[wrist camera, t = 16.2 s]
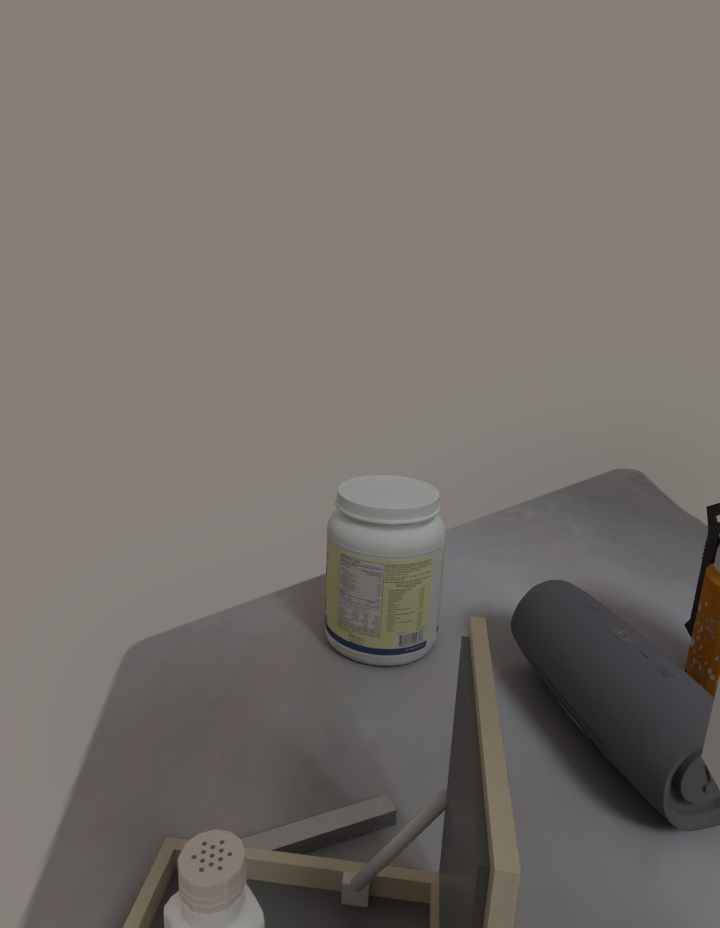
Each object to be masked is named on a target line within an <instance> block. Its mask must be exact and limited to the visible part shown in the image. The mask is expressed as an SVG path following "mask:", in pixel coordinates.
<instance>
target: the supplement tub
mask: <svg viewBox="0 0 720 928" xmlns="http://www.w3.org/2000/svg"><path fill="white" fill-rule="evenodd" d="M336 507H337V509H336V510H335V511H334V512H333V514H332V515H331V517H330V519H329V522H328V527H327V566H326V567H327V568H326V569H327V570H326V604H325V622H324V626H325V632H326V636H327V639H328V641H329V642H330V644H331V645H332V646H333V647H334V648H335V649H336V650H337V651H338V652H340V653H341V654H343V655H344V656H346V657H348V658H350V659H352V660H355V661H358V662H361V663H365V664H369V665H377V666H396V665H403V664H407V663H410V662H413V661H415V660H417V659H419V658H421V657H422V656H424V655H425V654H426V653H427V652H428V651H429V650H430V649H431V648H432V646H433V645H434V643H435V640H436V637H437V634H438V620H439V609H440V597H441V585H442V574H443V562H444V550H445V540H446V531H445V526H444V523H443V521H442V520H441V518H440V517H439V516H438V513H439V512H440V505H439V492H438V490H437V489H436V488H435V487H433V486H432V485H430V484H427V483H425V482H422V481H419V480H416V479H412V478H407V477H400V476H389V475H373V476H362V477H357V478H353V479H350V480H347V481H345V482H343V483H342V484H340V485H339V487H338V492H337V499H336Z"/></svg>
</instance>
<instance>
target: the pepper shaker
mask: <svg viewBox="0 0 720 928" xmlns="http://www.w3.org/2000/svg"><path fill="white" fill-rule="evenodd" d="M178 879H179V880H178V881H179V891H178V892H177V893H176V894H174V895H173V896H171V898H170V899H169V900H168V902H167V903H166V905H165V906H164V928H265V923H264V913H263V911H262V909H261V907H260V905H259V903H258V901H257V900H256V898H255V896H254V894H253V893H252V891H251V890H250V888H249V887H248V885H247V884H246V852H245V848H244V845H243V841H242V840H241V839H240V838H238V837H237V836H236V835H235V834H233V833H232V832H231V831H224V830H217V829H213V830H210V831H206V832H203V833H199V834H197V835H196V836H195V837H193V838H192V839H191V840H190V841H188V842H187V843H186V844H185V845H184V847H183V849H182V851H181V853H180V855H179V858H178Z"/></svg>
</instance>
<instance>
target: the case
mask: <svg viewBox="0 0 720 928" xmlns="http://www.w3.org/2000/svg"><path fill="white" fill-rule="evenodd" d="M444 810H445V817H444V827H443V838H442V848H441V858H440V869H439V872H432V871H424V870H417V869H409V868H401V867H394V866H387V865H388V864H389V863H390V862H391V861H392V860H393V859H394V858H395V857H396V856H397V855H398V854H399V853H400V852H401V851H402V850H403V849H404V848H405V847H407V846H408V845H409V844H410V843H411V842H412V841H413V840H414V839H415V838H416V837H417V836H418V835H419V834H420V833H421V832H422V831H423V830H424V829H425V828H426V827H427V826H428V825H429V824H430V823H431V822H433V821H434V820H435V819H436V818H437V817H438V816H439V815H440V814H441V813H442V812H443V811H444ZM188 841H190V840H187V839H179V838H172V837H166V839H165V841H164V843H163V845H162V847H161V849H160V852H159V854H158V856H157V858H156V860H155V862H154V864H153V866H152V868H151V870H150V872H149V874H148V876H147V879H146V881H145V883H144V885H143V887H142V889H141V891H140V893H139V895H138V897H137V899H136V901H135V903H134V906H133V908H132V910H131V912H130V914H129V916H128V918H127V920H126V922H125V924H124V926H123V928H164V906H165V905H166V903H167V902H168V900H169V899H170V898H171V896H173V895H174V894H176V893H177V892H178V891H179V881H178V880H179V879H178V858H179V855H180V853H181V851H182V849H183V847H184V845H185V844H186V843H187V842H188ZM244 848H245V852H246V884H247V885H248V887H249V888H250V890H251V891H252V893H253V894H254V896H255V898H256V900H257V901H258V903H259V905H260V907H261V909H262V911H263V913H264V923H265V928H514V923H515V916H516V909H517V901H518V894H519V887H520V880H521V867H520V859H519V852H518V845H517V838H516V831H515V824H514V817H513V810H512V803H511V796H510V789H509V782H508V774H507V767H506V760H505V753H504V746H503V739H502V732H501V725H500V718H499V711H498V704H497V697H496V689H495V682H494V675H493V668H492V661H491V654H490V647H489V640H488V633H487V626H486V619H485V617H478V616H470V622H469V632H468V637H465V636H462V640H461V650H460V661H459V671H458V682H457V692H456V702H455V713H454V723H453V734H452V744H451V754H450V765H449V775H448V786H447V790H445V789H443V790H442V791H441V792H440V793H439V794H438V795H437V796H436V797H435V798H434V799H433V800H432V801H431V802H430V803H429V804H428V805H427V806H426V807H425V808H424V809H422V810H421V811H420V812H419V813H418V814H417V815H416V816H415V817H414V818H413V819H412V820H411V821H410V822H409V823H408V824H407V825H406V826H405V827H404V828H403V829H402V830H401V831H400V832H399V833H398V834H397V835H396V836H395V837H394V838H393V839H392V840H391V841H390V842H389V843H388V844H387V845H386V846H385V847H384V848H383V849H382V850H381V851H379V852H378V853H377V854H376V855H375V856H374V857H373V858H372V859H371V860H370V861H369V862H368V863H363V862H355V861H348V860H340V859H332V858H325V857H317V856H310V855H302V854H294V853H287V852H279V851H271V850H264V849H256V848H248V847H244Z"/></svg>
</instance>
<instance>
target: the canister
mask: <svg viewBox="0 0 720 928" xmlns="http://www.w3.org/2000/svg"><path fill="white" fill-rule="evenodd" d="M718 515H720V503H718V504H714V505H711V506H708V507H707V517H708V530H709V531H708V536H707V541H706V542H705V543H706V545H705V549H704V553H703V557H702V559H703V560H702V565H701V570H700V574H699V579H698V584H697V589H696V594H695V599H694V604H693V608H692V613H691V618H690V620H689V621H688V622H687V623H686V624H685V627H686V629H687V631H688V633H689V634H690V636H691V638H692V639H691V643H690V648H689V653H688V658H687V663H686V669H685V672H686V673H687V674H688V675H689V676H690V677H692V678H693V679H694V680H695V681H696V682H697V683H698V684H699V685H700V686H701V687H703V688H704V689H705V690H706V691H707V692H708V693H709V694H710V695H711V696H712V697H713V698H715V694H716V689H717V685H718V680H719V676H720V522H718V521H717V518H716V516H718Z"/></svg>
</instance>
